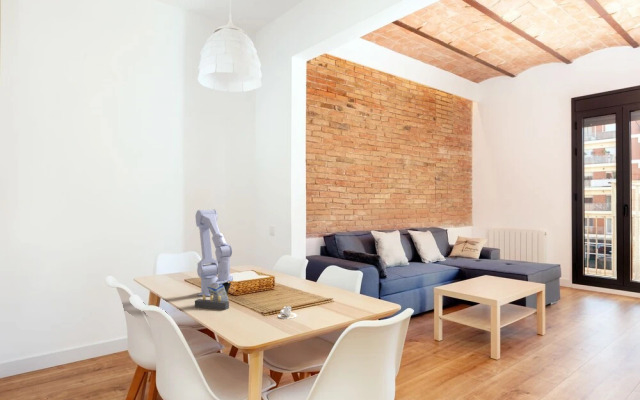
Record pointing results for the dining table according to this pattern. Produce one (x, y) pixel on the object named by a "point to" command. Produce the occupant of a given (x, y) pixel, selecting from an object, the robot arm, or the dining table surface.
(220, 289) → the medicine box
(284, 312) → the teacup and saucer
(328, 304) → the dining table surface
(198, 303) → the pin header
